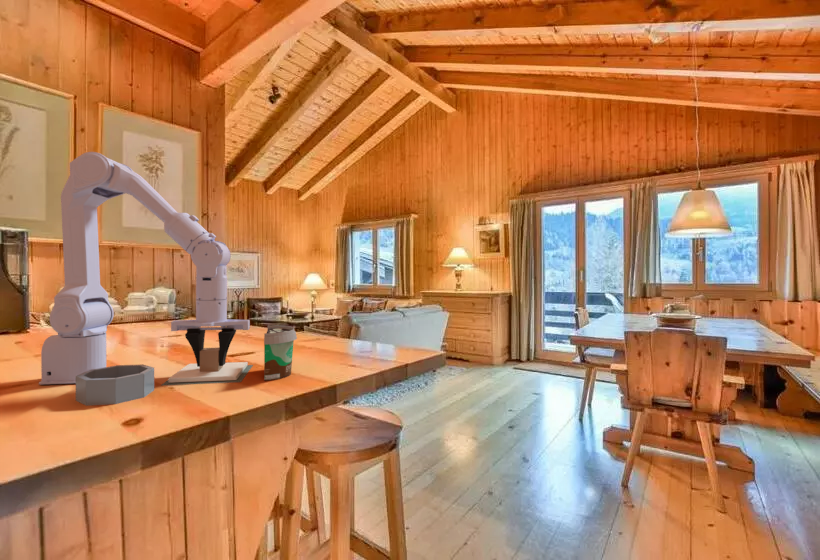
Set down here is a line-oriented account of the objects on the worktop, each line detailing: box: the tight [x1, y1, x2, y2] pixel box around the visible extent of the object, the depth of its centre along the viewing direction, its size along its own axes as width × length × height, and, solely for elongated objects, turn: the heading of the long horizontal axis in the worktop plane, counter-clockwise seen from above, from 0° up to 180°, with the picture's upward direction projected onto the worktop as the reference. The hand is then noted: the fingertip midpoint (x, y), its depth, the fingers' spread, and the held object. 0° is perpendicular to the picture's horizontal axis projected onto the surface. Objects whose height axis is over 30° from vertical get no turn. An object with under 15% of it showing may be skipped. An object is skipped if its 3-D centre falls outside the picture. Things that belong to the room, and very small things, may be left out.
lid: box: [167, 347, 249, 383], centre depth 83 cm, size 12×12×5 cm
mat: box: [161, 364, 254, 386], centre depth 83 cm, size 14×14×1 cm
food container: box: [263, 324, 298, 382], centre depth 84 cm, size 12×6×10 cm, turn 16°
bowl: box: [75, 363, 155, 407], centre depth 69 cm, size 10×10×4 cm
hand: (211, 365), depth 83 cm, fingers closed on lid, 3 cm apart
